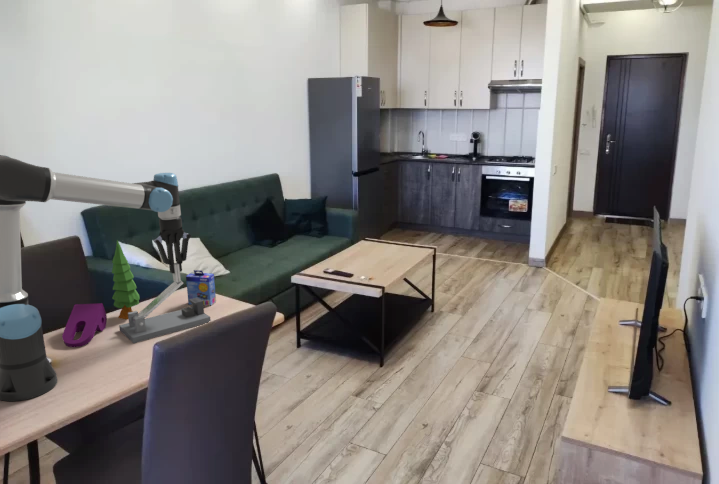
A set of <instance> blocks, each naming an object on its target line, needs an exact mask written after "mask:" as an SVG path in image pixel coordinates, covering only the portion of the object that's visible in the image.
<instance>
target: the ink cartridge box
mask: <svg viewBox="0 0 719 484" xmlns="http://www.w3.org/2000/svg"><path fill="white" fill-rule="evenodd" d="M185 281H186V291H187V302H188V305H191V306H192V303H191V302H189V299H193V298H199V299H201V300H202V301H203V305H211V306H213V305H214V304H215V303H216V302H217V297H216V285H215V274H214V273H208V272H204V271H203V270H198V269H197V270H196V269H194V270H193V272H190V273H188V274H187V275H186V276H185ZM213 303H214V304H213ZM212 304H213V305H212Z"/></svg>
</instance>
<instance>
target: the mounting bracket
mask: <svg viewBox="0 0 719 484" xmlns="http://www.w3.org/2000/svg"><path fill="white" fill-rule="evenodd" d="M107 317H108V316H107V312H106V310H105V307H104V304H103V303H102V302H101V303H79V304H78V303H76V304H74V305H73V307H72V310H71V312H70V315H69V317H68V319H67V322H66V325H65V326H64V329H63V332H62V334H61V335H62V336H61V337H62V341H63V343H64V345H65V346H67V347H68V348H80V347H81V348H82V347H84V346H86V345H88V344H89V343H90V342H91V341H93V339H94V337H95V334H96V332H104V330H105V329H107V327H106V326H107V321H108V320H107V319H108V318H107ZM76 333H81V336H80V337H79V338H78V339H75V336H76Z"/></svg>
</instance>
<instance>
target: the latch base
mask: <svg viewBox="0 0 719 484" xmlns="http://www.w3.org/2000/svg"><path fill="white" fill-rule="evenodd" d="M189 302H191V303H192V305H191V307H190V306H188V307H187V306H186V307H182V308H181V309H179V310H174V311H170V312H166V313H162V314H159V315H155V316H151V317H146V318H145V317H144V316H141V317H137V318H134V321H133V320H132V318H133V317H134V316H136V315H137V314H139V311H138V310H135V311H133V310H132V311H133V312H129V313H128V319H127V320H128V322H127V323H124V324H123V323H122V324H120V325H119V326H118V328H119V332H121V333H122V334H123V335H124V336H125V337H126V338H127V339H128V340H129V341H130V342H131V343H132V344H136V343H140V342H143V341H147V340H150V339H154V338H157V337H161V336H165V335H169V334H172V333H176V332H179V331H182V330H187V329H189V328H193V327H197V326H200V325H205V324H208V323H210V322H209V321H212V320H211V316H210V315H208V313H207V314H206V313H205V309H204V308H205V307H204V306H203V301H202V300H201V299H199V298H193V299H189ZM207 322H208V323H207ZM204 323H205V324H204Z"/></svg>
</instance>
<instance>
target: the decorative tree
mask: <svg viewBox="0 0 719 484" xmlns="http://www.w3.org/2000/svg"><path fill="white" fill-rule="evenodd" d="M115 246H116V247H115V251H114V256H113V259H112V261H111V263H112V269H111V274H113V278H112V282H114V283H113V285H112V289H111V290H112V291H114V293H113V294H112V298H111V299H112V300H114V302H113V307H115V308H117V309H121V310H120V312H119V315H118V319H121V320H124V321H125V320H129V319H128V313H129V312H133V308H132V307H134V306H138V305H139V304H140V301H139V300H140V294H139V293H138V291H137V290H136V289H138V287H137V285H136V283H135V281H134V278H135V277H134V274H133V272H132V271H131V265H130V264H129V262H128V260H127V258H126V256H125V254H124V251H123V249H122V247H121V244H120V242H119V240H116V245H115Z"/></svg>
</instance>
